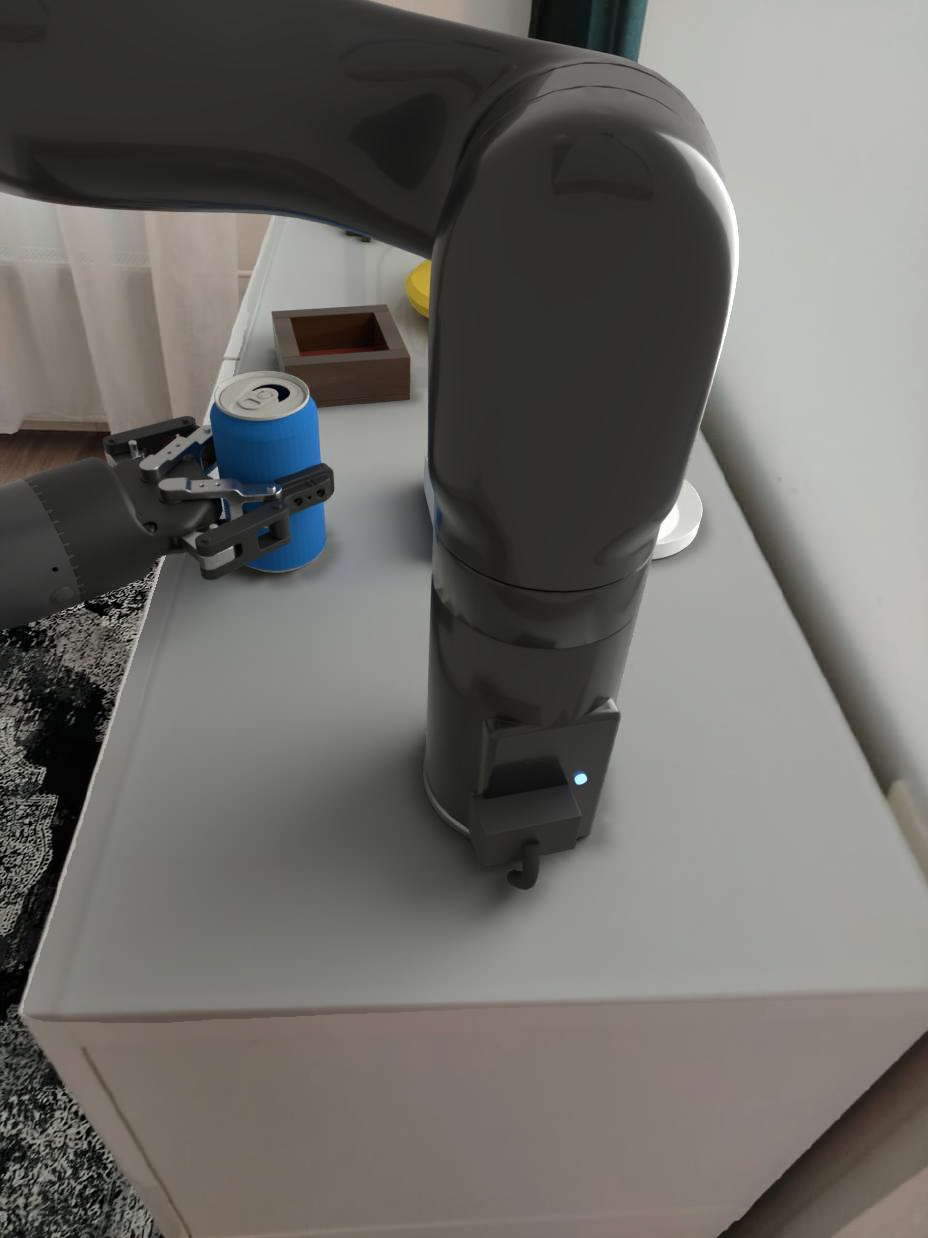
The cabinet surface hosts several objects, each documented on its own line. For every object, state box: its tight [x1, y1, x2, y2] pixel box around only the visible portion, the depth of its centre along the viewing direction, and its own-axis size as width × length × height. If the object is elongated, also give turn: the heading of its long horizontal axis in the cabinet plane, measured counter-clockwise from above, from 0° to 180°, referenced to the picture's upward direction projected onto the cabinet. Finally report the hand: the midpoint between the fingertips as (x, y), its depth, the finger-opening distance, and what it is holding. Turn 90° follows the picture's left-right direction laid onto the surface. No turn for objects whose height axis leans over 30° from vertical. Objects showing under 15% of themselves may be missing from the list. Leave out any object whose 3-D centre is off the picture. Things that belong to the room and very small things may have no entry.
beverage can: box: [209, 370, 327, 574], centre depth 58 cm, size 6×6×12 cm
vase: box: [404, 259, 431, 319], centre depth 89 cm, size 16×16×7 cm
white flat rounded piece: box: [423, 455, 703, 560], centre depth 66 cm, size 12×3×20 cm
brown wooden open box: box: [271, 303, 411, 408], centre depth 79 cm, size 10×10×4 cm
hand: (300, 452), depth 58 cm, fingers closed on beverage can, 6 cm apart
